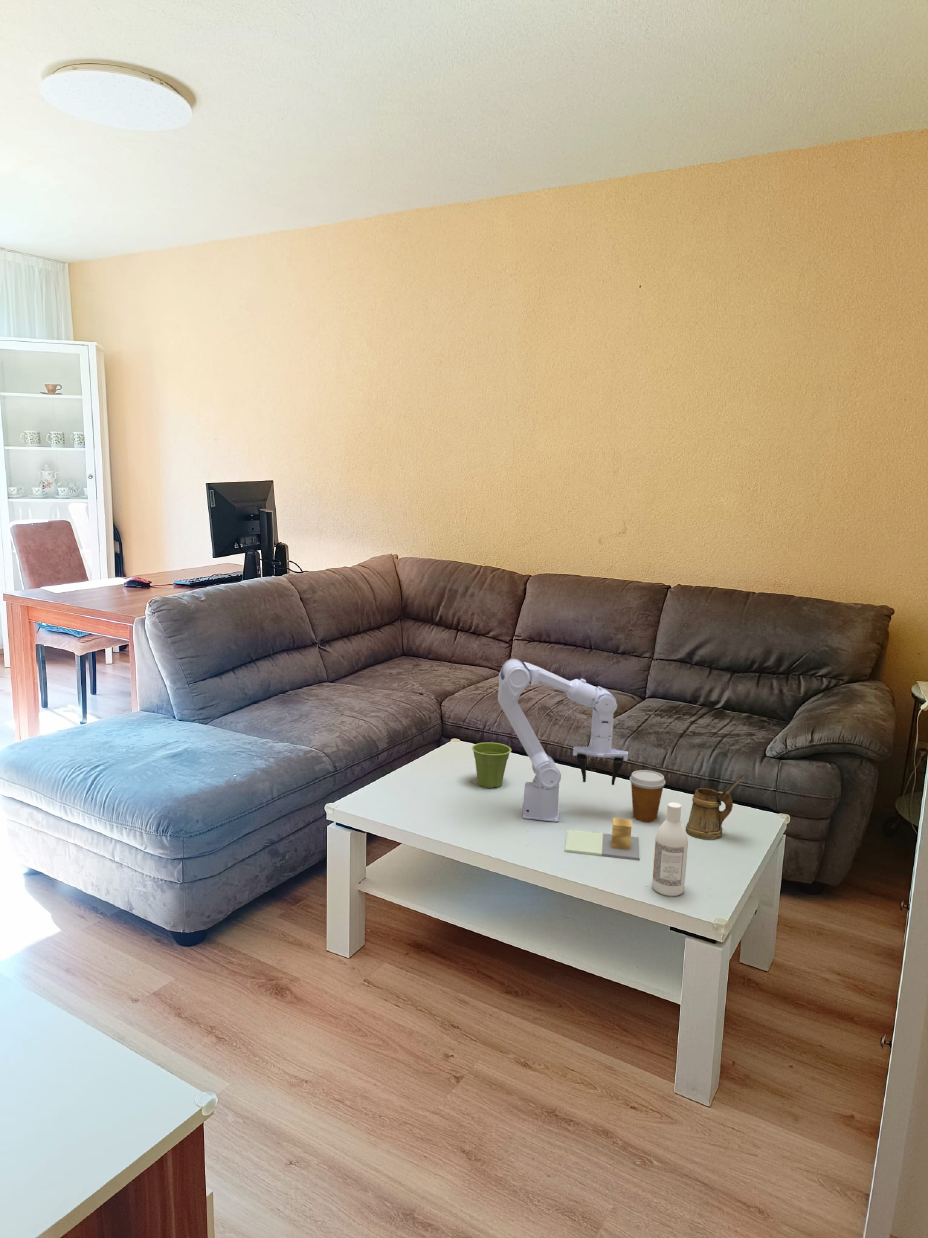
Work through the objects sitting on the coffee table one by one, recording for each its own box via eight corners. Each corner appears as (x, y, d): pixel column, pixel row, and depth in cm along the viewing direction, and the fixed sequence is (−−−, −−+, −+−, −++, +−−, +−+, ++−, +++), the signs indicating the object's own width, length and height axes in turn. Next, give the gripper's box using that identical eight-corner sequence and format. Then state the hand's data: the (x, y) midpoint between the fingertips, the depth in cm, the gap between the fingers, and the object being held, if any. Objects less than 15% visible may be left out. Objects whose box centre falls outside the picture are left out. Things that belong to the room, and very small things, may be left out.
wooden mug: (732, 848, 202) (739, 780, 199) (680, 833, 210) (686, 767, 207) (743, 836, 209) (749, 770, 206) (692, 822, 217) (697, 759, 214)
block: (611, 847, 198) (612, 825, 198) (611, 840, 203) (613, 817, 202) (629, 850, 198) (631, 827, 197) (629, 842, 202) (631, 819, 201)
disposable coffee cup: (663, 826, 214) (666, 783, 212) (627, 822, 216) (629, 779, 214) (661, 812, 223) (665, 771, 221) (627, 809, 225) (629, 768, 223)
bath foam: (660, 878, 185) (667, 796, 181) (688, 889, 180) (696, 804, 177) (646, 889, 179) (652, 804, 176) (675, 900, 175) (682, 813, 172)
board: (564, 851, 197) (564, 849, 197) (567, 831, 208) (567, 829, 208) (639, 860, 194) (639, 858, 193) (638, 839, 205) (638, 837, 205)
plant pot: (510, 792, 234) (512, 755, 233) (470, 791, 234) (471, 754, 233) (509, 778, 246) (510, 742, 244) (470, 776, 246) (471, 741, 244)
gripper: (573, 736, 214) (570, 785, 216) (629, 741, 211) (625, 790, 213) (575, 728, 220) (572, 776, 223) (628, 733, 218) (625, 781, 220)
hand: (598, 782), depth 218 cm, fingers open, 7 cm apart
